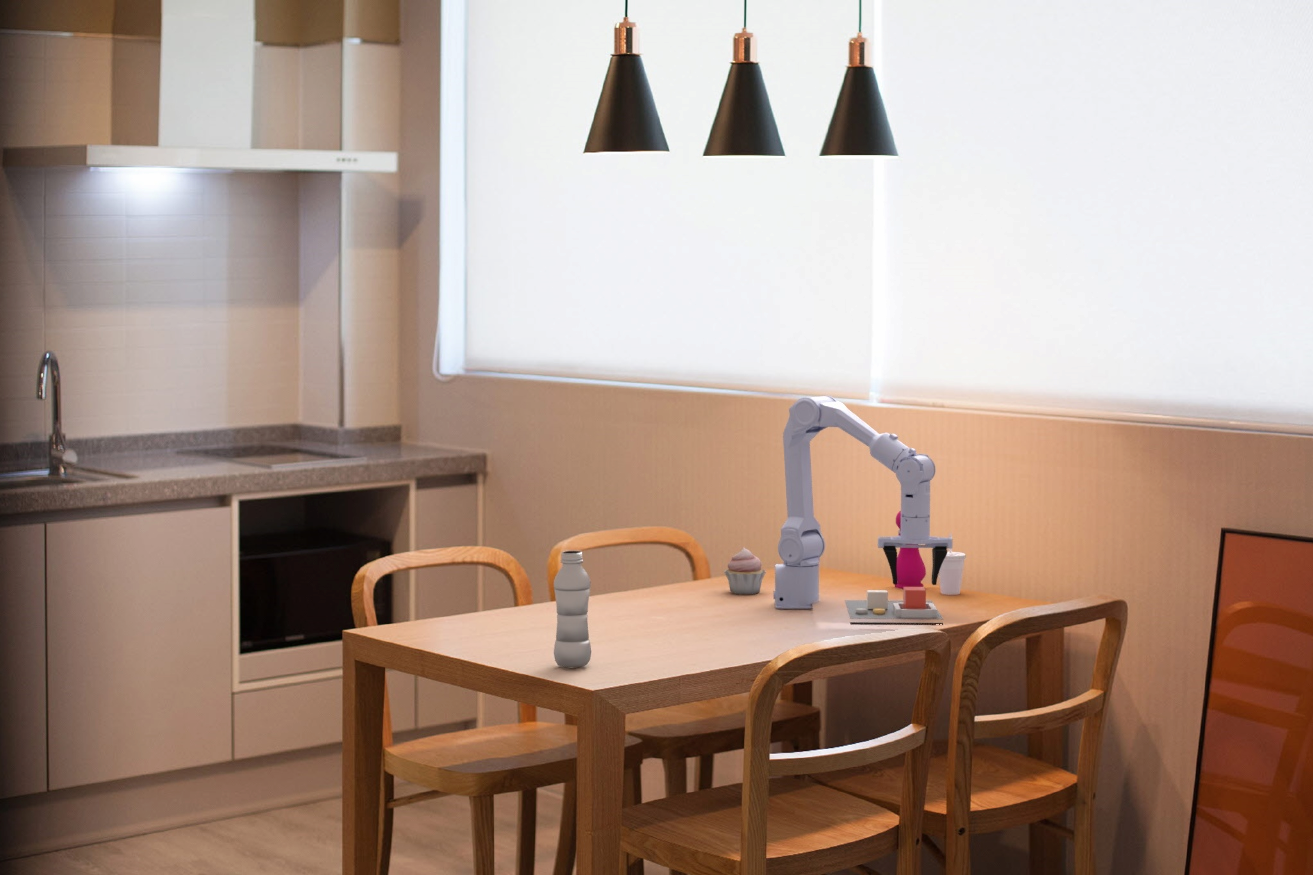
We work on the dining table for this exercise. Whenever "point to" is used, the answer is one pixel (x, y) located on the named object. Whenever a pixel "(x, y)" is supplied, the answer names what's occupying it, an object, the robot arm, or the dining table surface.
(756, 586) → the cupcake
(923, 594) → the cap
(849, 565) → the dining table surface
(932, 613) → the panel
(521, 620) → the dining table surface
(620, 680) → the dining table surface
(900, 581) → the pepper mill
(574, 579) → the plastic bottle
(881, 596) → the block
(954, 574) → the smoothie
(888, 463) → the robot arm
